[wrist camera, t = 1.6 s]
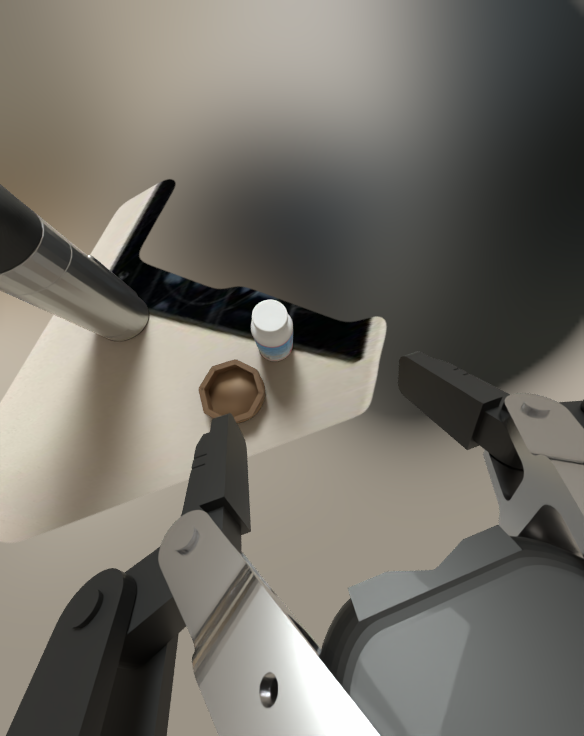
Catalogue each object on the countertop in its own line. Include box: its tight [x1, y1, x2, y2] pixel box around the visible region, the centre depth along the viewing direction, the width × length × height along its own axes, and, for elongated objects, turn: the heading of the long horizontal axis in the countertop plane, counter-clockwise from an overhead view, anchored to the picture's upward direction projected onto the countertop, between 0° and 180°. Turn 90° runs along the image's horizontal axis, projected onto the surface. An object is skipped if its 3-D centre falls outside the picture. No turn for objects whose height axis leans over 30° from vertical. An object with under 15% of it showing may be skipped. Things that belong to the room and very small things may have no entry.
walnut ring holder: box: [199, 360, 265, 423], centre depth 34 cm, size 10×10×3 cm
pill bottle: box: [251, 300, 293, 361], centre depth 32 cm, size 6×6×11 cm
